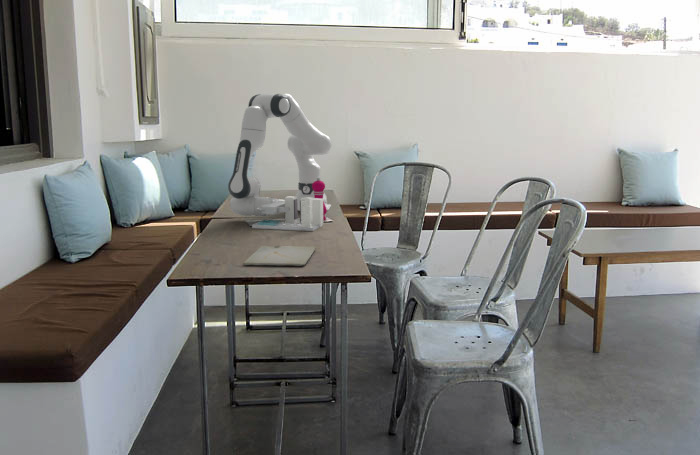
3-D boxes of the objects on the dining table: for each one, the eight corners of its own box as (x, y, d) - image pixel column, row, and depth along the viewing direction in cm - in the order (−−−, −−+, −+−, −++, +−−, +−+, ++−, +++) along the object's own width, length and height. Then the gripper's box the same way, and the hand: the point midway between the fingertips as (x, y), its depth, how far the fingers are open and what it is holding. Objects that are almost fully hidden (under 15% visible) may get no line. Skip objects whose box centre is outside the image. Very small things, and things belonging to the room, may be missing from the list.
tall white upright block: (288, 222, 285) (288, 196, 283) (298, 222, 284) (297, 196, 282) (285, 223, 282) (284, 197, 279) (295, 224, 280) (294, 197, 278)
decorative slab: (259, 250, 231) (258, 244, 230) (316, 250, 230) (316, 245, 229) (243, 268, 204) (242, 262, 204) (307, 268, 203) (307, 262, 203)
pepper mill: (327, 218, 293) (327, 176, 289) (325, 221, 286) (325, 178, 282) (312, 218, 294) (311, 176, 290) (310, 221, 287) (309, 178, 283)
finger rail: (259, 224, 279) (258, 194, 276) (319, 227, 271) (318, 196, 269) (252, 228, 271) (251, 197, 269) (313, 231, 264) (312, 199, 261)
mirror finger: (313, 224, 278) (313, 198, 276) (323, 225, 277) (323, 198, 275) (310, 226, 274) (310, 199, 272) (320, 226, 273) (320, 199, 271)
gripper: (254, 203, 275) (283, 204, 271) (272, 196, 294) (300, 197, 290) (255, 217, 276) (284, 218, 272) (273, 210, 295) (300, 211, 292)
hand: (292, 207), depth 281 cm, fingers open, 8 cm apart
